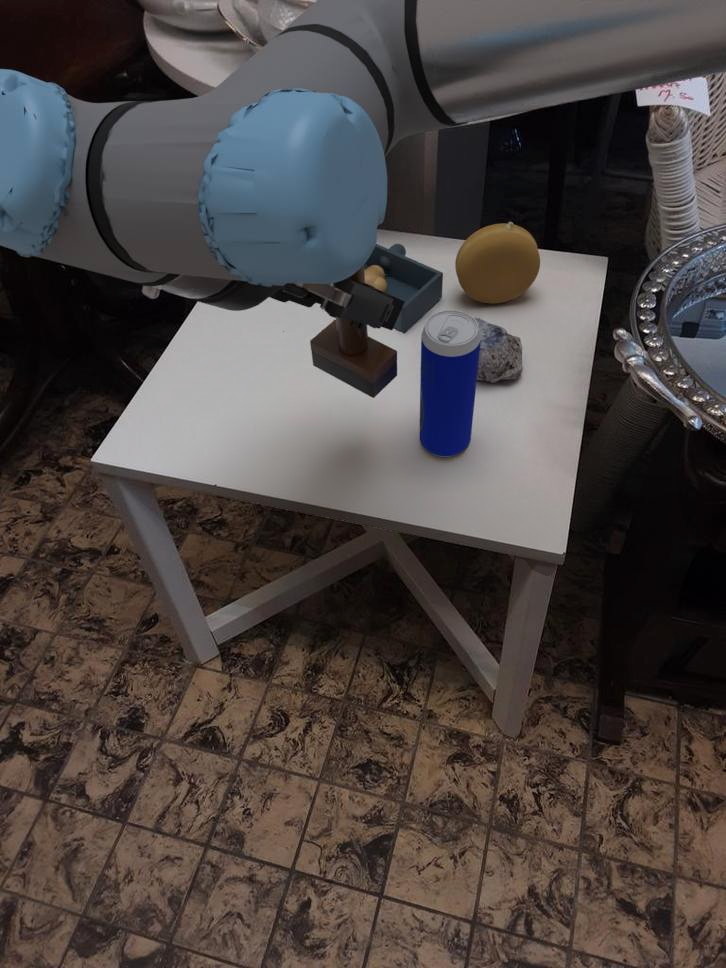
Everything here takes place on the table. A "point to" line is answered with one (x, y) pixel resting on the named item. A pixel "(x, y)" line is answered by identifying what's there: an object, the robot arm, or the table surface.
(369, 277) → the tan lobed cluster
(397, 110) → the robot arm
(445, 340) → the beverage can
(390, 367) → the brush
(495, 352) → the mineral specimen
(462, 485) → the table surface
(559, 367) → the table surface
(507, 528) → the table surface
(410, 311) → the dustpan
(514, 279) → the tan flat oval
